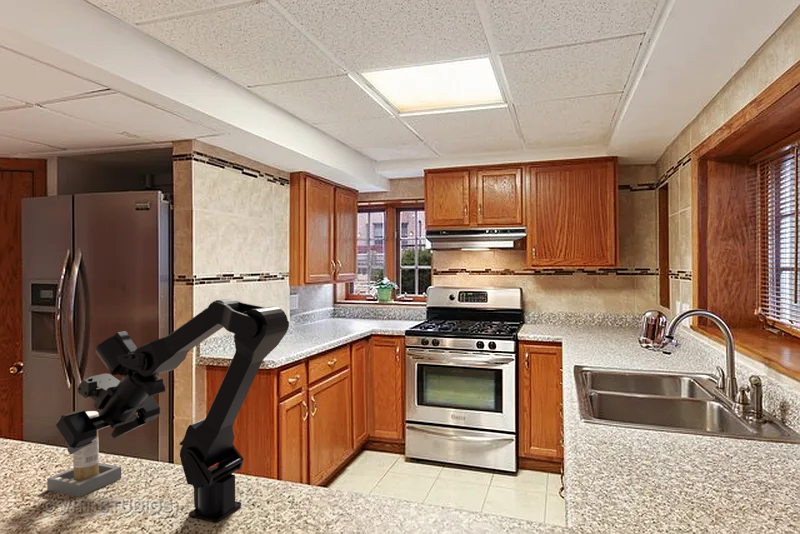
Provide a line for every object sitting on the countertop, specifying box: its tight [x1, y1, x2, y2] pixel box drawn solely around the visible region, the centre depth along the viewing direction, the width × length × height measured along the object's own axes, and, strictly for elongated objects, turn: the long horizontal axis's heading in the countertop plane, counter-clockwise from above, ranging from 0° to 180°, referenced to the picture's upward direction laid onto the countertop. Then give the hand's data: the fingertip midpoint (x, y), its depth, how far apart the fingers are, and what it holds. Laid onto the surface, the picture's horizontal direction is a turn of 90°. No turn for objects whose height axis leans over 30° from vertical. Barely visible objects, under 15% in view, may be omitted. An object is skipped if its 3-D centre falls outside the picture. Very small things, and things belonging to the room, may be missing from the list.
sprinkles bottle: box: [72, 410, 100, 482], centre depth 99 cm, size 5×5×14 cm
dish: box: [46, 462, 122, 498], centre depth 99 cm, size 9×9×2 cm
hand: (92, 444), depth 98 cm, fingers open, 9 cm apart
